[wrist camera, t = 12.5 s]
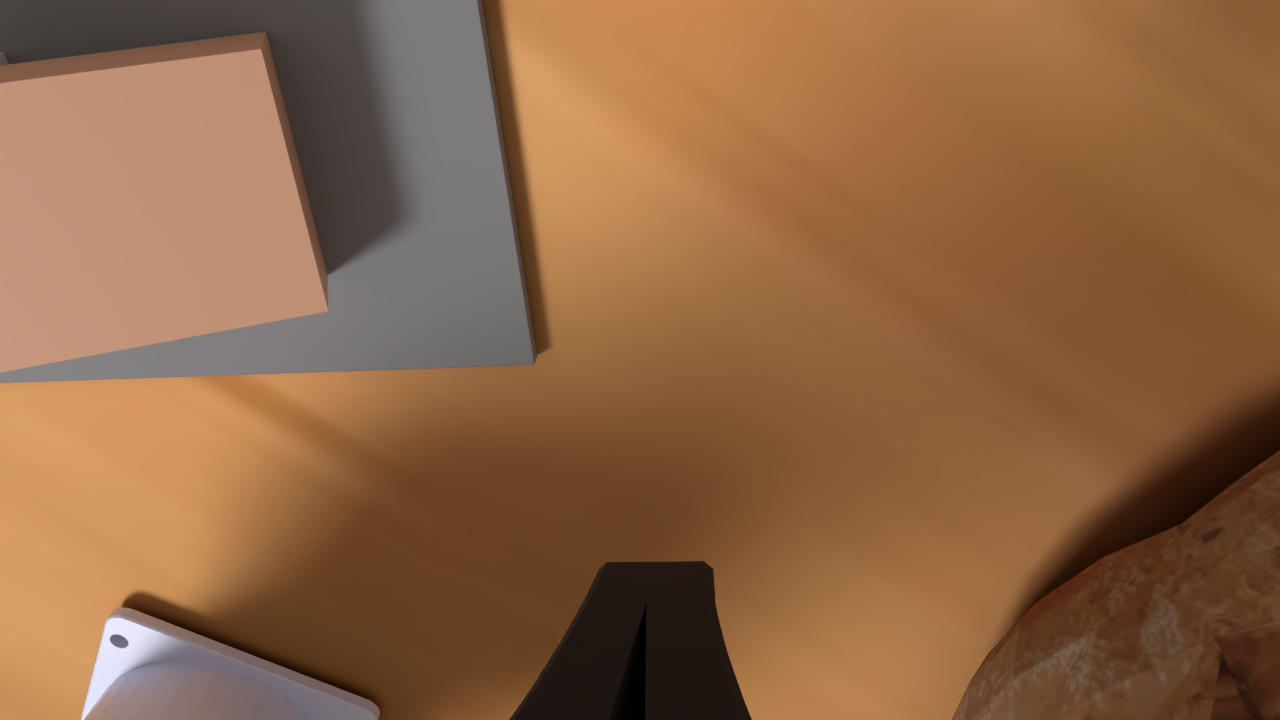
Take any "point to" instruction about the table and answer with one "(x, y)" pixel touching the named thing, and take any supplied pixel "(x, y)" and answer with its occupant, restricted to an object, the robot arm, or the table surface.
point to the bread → (1155, 626)
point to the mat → (345, 181)
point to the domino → (149, 200)
